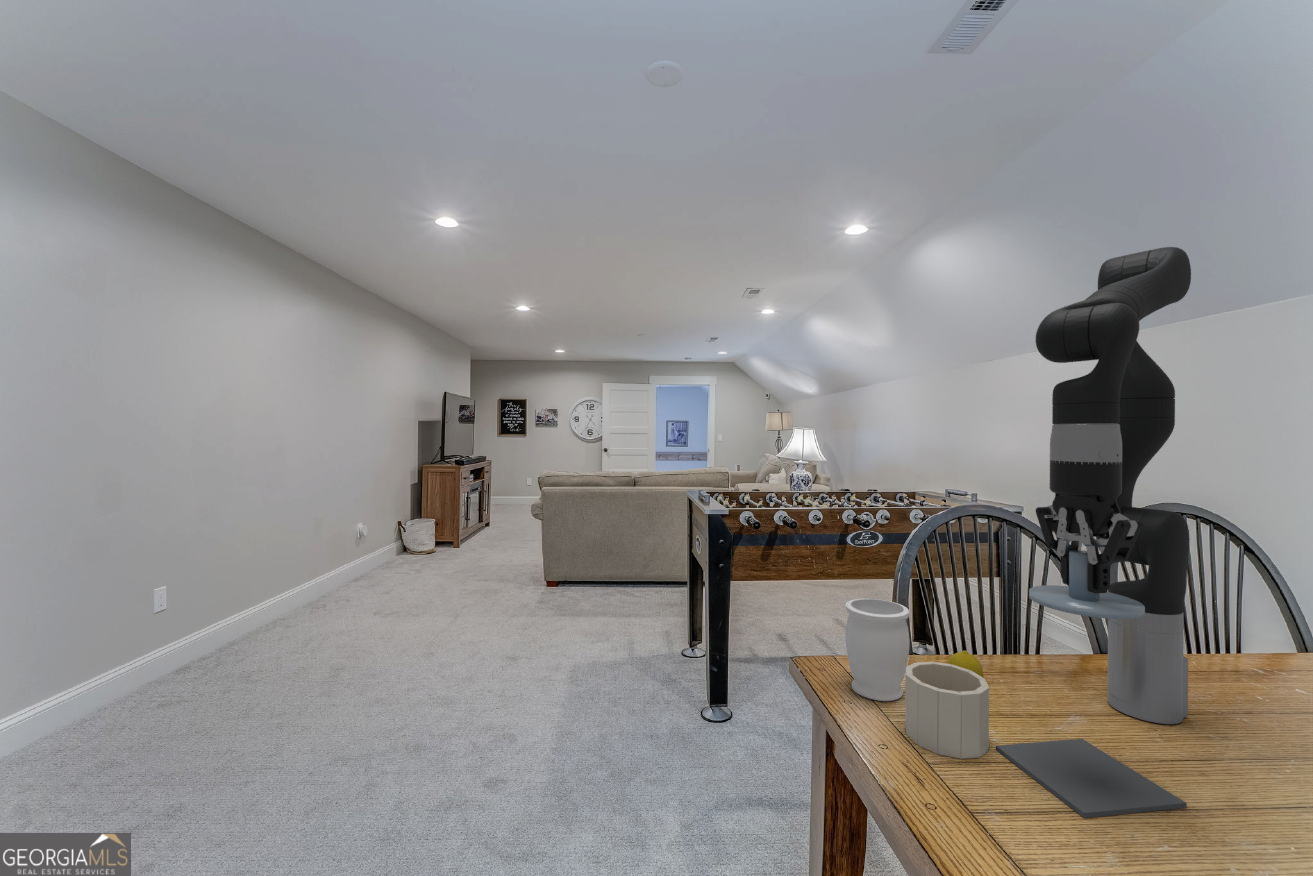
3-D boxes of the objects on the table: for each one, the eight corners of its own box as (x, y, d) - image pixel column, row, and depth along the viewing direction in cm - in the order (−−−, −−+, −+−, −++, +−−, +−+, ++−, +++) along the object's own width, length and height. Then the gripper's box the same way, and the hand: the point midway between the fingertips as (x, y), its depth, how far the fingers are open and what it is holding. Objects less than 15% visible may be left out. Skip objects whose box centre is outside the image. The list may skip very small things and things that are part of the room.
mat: (1082, 742, 80) (1082, 738, 80) (1186, 807, 66) (1186, 802, 66) (995, 749, 78) (995, 745, 78) (1084, 818, 64) (1084, 813, 64)
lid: (1083, 589, 78) (1083, 542, 78) (1171, 617, 66) (1172, 562, 66) (1007, 592, 77) (1008, 544, 77) (1084, 621, 65) (1085, 565, 65)
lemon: (989, 706, 90) (989, 658, 90) (952, 703, 91) (953, 656, 91) (976, 691, 96) (976, 646, 96) (942, 688, 97) (942, 643, 97)
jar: (876, 710, 89) (876, 619, 89) (832, 684, 98) (832, 601, 98) (923, 698, 93) (923, 611, 93) (876, 673, 103) (876, 595, 103)
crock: (954, 715, 87) (954, 660, 87) (1005, 755, 77) (1005, 691, 76) (891, 720, 86) (891, 663, 86) (934, 761, 75) (935, 696, 75)
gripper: (1166, 460, 65) (1165, 603, 65) (1063, 456, 79) (1063, 573, 79) (1110, 461, 64) (1109, 606, 64) (1017, 456, 78) (1016, 575, 78)
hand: (1084, 587), depth 72 cm, fingers closed on lid, 3 cm apart
